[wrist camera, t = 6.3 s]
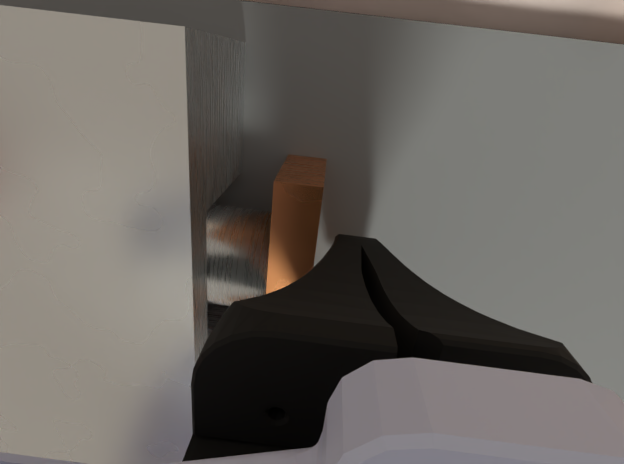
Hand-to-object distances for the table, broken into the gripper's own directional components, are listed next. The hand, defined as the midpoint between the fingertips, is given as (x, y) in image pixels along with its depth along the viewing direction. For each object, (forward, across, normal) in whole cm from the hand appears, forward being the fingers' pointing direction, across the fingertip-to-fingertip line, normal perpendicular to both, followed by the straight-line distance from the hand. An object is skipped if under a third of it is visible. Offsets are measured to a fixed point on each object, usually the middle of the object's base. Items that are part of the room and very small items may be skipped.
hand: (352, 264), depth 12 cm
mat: (+2, -1, 0) cm, 2 cm away
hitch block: (+1, +7, 0) cm, 7 cm away
